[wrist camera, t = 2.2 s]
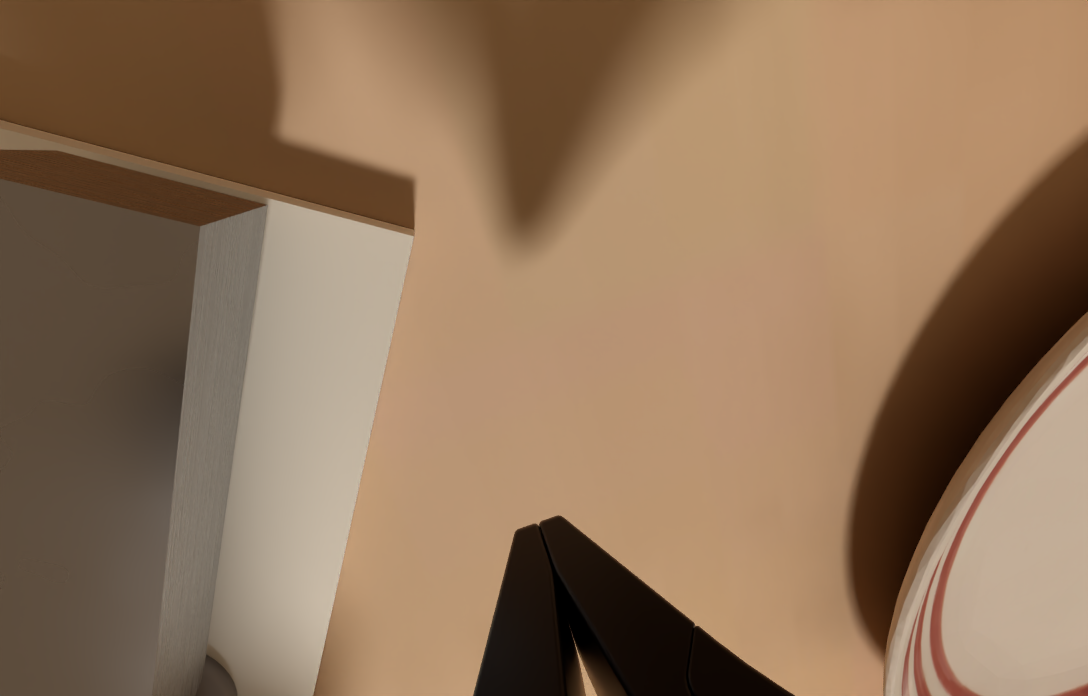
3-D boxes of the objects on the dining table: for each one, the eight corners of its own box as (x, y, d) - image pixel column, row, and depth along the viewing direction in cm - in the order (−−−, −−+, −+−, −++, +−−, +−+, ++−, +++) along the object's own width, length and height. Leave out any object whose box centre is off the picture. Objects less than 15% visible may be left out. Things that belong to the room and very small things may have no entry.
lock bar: (201, 788, 13) (137, 971, 10) (25, 797, 12) (-102, 1004, 9) (286, 210, 9) (222, 235, 6) (32, 144, 8) (-193, 137, 5)
